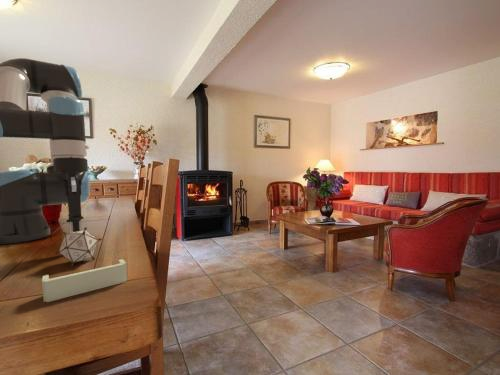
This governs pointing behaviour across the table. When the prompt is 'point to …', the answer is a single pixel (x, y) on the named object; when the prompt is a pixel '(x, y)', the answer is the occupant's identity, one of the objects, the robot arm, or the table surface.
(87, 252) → the game die
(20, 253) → the table surface
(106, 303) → the table surface
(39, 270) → the table surface
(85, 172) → the robot arm
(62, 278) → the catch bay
